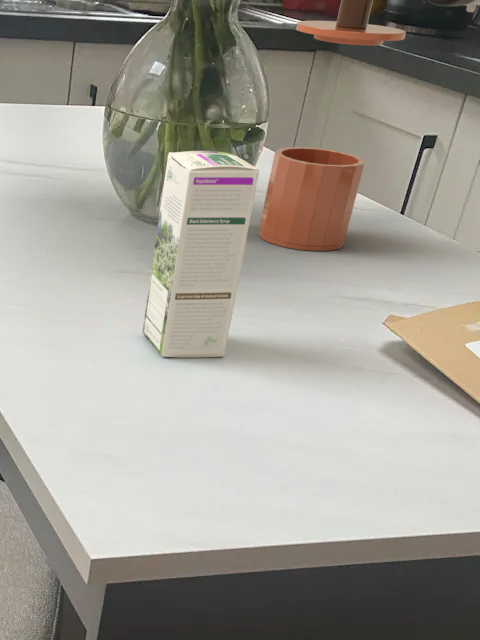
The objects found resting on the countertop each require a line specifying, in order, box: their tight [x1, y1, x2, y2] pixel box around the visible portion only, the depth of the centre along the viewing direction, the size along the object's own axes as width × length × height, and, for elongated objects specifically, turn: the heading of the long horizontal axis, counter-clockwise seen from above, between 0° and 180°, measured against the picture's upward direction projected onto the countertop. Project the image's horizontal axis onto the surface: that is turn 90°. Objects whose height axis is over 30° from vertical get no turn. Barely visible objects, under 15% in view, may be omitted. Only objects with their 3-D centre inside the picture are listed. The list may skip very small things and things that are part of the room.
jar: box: [258, 146, 366, 252], centre depth 117 cm, size 9×9×8 cm
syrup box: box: [141, 150, 260, 359], centre depth 85 cm, size 6×6×14 cm
